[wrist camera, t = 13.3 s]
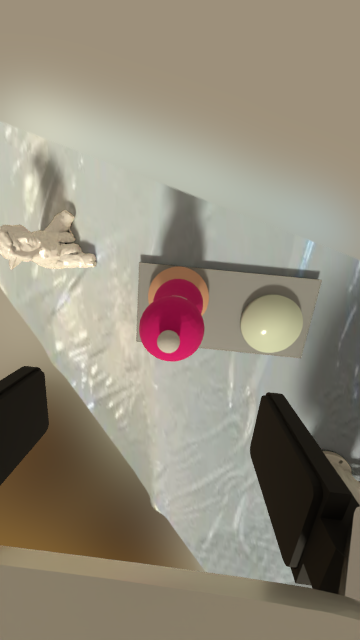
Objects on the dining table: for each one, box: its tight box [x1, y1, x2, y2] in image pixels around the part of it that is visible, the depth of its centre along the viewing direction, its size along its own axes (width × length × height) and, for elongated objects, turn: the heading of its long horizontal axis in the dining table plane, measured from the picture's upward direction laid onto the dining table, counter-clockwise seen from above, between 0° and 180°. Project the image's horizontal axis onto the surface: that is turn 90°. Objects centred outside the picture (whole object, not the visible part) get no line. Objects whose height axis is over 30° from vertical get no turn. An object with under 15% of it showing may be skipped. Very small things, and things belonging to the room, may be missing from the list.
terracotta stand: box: [148, 266, 209, 316], centre depth 36 cm, size 10×10×2 cm
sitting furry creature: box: [0, 210, 97, 270], centre depth 30 cm, size 10×9×12 cm
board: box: [136, 263, 322, 358], centre depth 37 cm, size 30×14×1 cm, turn 85°
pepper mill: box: [139, 279, 204, 361], centre depth 25 cm, size 7×7×20 cm
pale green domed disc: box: [240, 294, 303, 353], centre depth 36 cm, size 10×10×2 cm
